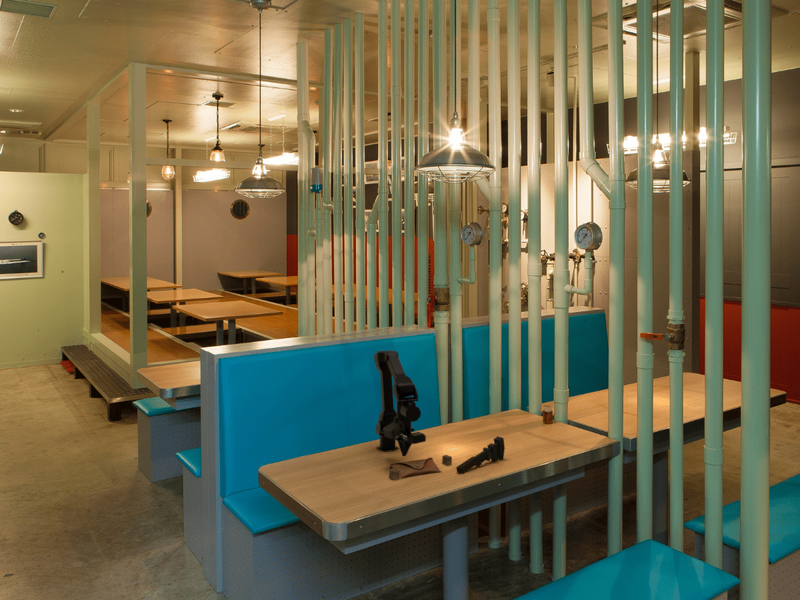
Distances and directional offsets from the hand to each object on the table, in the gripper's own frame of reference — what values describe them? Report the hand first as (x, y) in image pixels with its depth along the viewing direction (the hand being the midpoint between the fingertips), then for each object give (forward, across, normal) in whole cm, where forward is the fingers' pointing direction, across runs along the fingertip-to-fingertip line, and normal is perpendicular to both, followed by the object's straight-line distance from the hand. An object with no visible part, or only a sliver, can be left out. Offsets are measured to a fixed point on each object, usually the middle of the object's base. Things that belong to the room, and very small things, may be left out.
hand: (404, 456), depth 242 cm
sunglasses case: (+4, +9, -2) cm, 10 cm away
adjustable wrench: (+4, +18, +22) cm, 29 cm away
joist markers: (+3, +9, 0) cm, 10 cm away
